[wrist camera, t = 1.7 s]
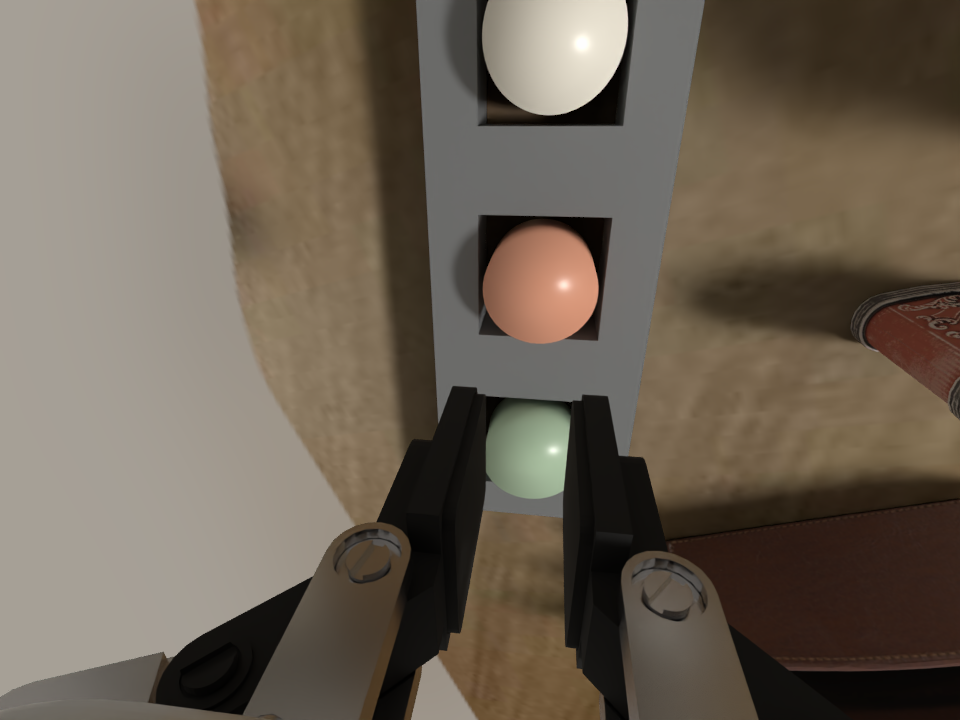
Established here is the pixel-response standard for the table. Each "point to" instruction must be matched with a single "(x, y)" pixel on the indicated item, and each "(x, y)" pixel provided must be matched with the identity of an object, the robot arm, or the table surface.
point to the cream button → (553, 50)
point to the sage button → (528, 447)
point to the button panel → (550, 211)
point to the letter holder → (850, 604)
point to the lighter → (917, 335)
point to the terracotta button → (541, 282)
